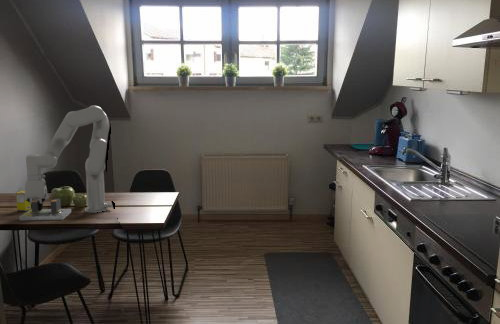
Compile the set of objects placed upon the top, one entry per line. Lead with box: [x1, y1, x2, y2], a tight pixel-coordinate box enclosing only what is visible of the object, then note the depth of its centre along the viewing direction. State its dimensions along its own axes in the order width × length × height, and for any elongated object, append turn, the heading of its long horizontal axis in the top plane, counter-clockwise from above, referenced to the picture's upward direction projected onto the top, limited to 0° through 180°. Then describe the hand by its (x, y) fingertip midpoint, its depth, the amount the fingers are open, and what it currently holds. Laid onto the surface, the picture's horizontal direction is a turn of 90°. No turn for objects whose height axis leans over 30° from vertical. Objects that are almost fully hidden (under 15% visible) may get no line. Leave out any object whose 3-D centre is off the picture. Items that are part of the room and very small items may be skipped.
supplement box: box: [15, 190, 31, 213], centre depth 248 cm, size 6×6×11 cm
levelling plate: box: [18, 208, 72, 221], centre depth 237 cm, size 22×15×2 cm
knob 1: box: [31, 198, 42, 213], centre depth 237 cm, size 5×7×7 cm
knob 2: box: [50, 198, 62, 213], centre depth 238 cm, size 5×7×7 cm
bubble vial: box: [39, 211, 51, 215], centre depth 234 cm, size 5×2×2 cm, turn 96°
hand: (37, 209), depth 238 cm, fingers closed on knob 1, 3 cm apart
